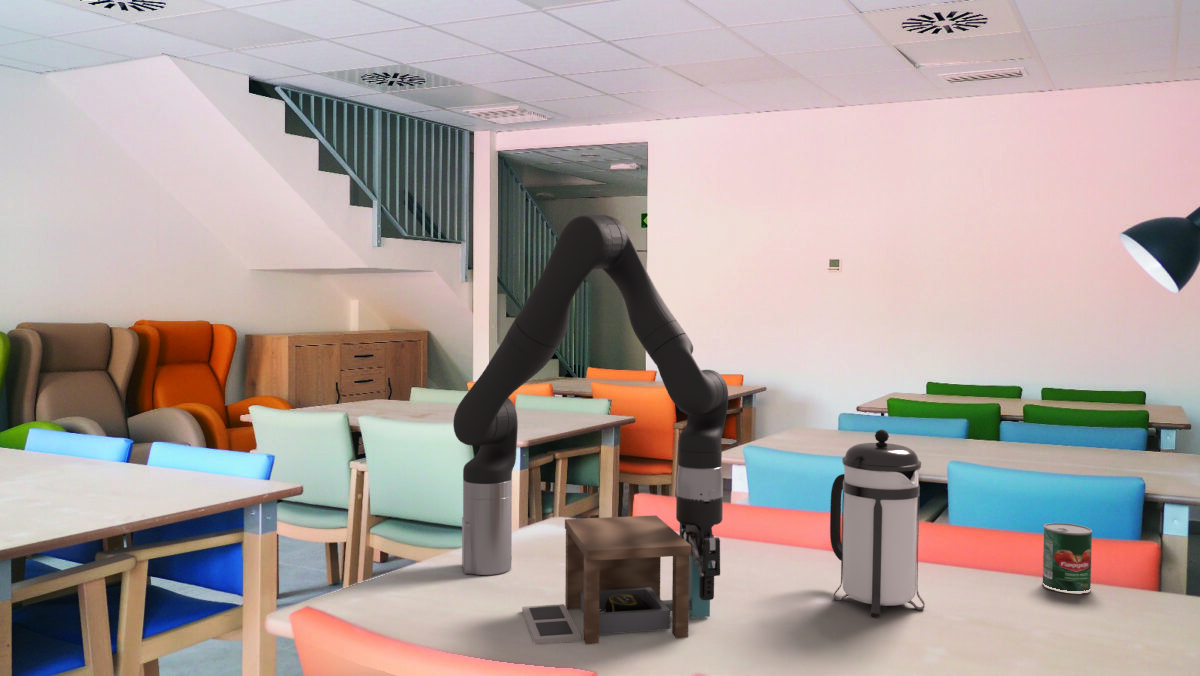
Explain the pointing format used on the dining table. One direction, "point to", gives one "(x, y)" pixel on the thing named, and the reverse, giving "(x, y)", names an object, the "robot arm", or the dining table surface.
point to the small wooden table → (623, 565)
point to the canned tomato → (1067, 556)
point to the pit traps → (550, 624)
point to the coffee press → (877, 523)
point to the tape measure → (625, 603)
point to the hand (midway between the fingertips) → (698, 591)
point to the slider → (660, 608)
